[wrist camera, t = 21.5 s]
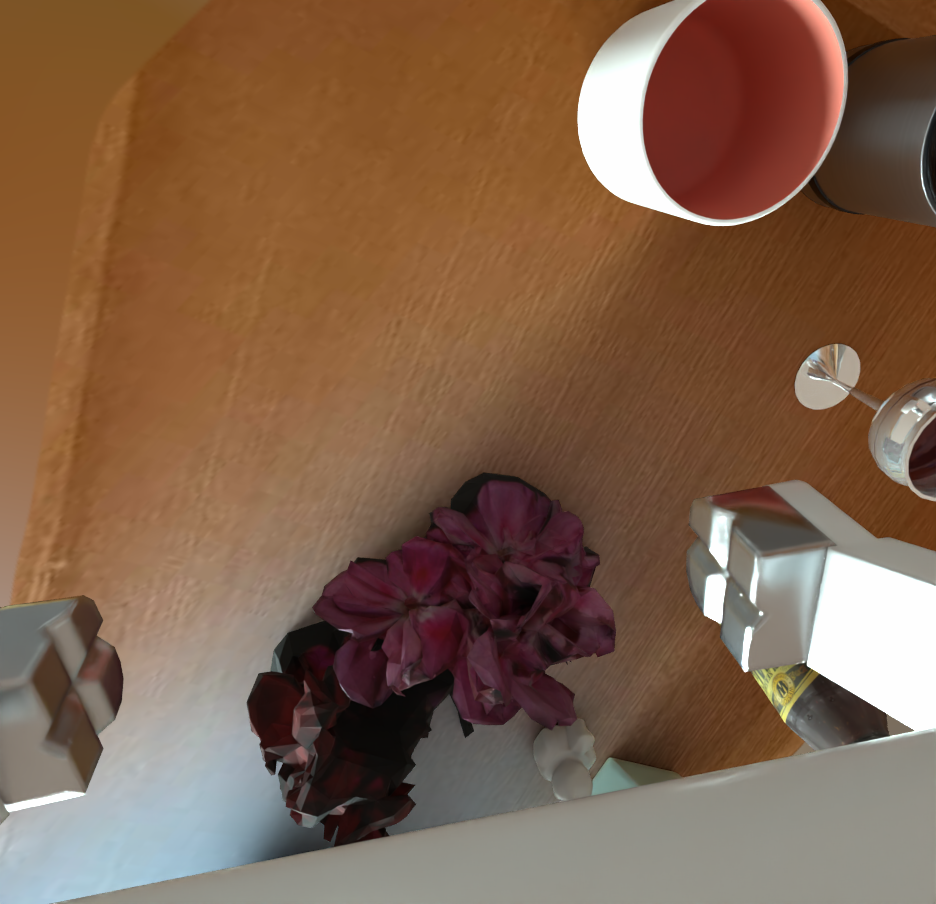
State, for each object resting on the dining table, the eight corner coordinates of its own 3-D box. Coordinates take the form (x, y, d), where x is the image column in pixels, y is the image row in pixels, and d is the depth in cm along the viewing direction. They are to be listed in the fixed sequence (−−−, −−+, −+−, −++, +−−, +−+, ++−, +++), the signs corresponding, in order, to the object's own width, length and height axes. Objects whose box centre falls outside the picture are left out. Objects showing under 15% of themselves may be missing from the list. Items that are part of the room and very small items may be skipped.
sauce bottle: (727, 557, 55) (905, 766, 37) (791, 568, 56) (992, 775, 39) (693, 621, 57) (846, 846, 39) (756, 630, 59) (929, 850, 41)
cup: (673, -38, 36) (778, -89, 27) (769, 114, 40) (886, 112, 31) (535, 108, 38) (590, 105, 29) (639, 238, 42) (715, 270, 33)
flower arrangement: (417, 783, 61) (435, 969, 47) (205, 713, 54) (156, 909, 40) (637, 520, 52) (735, 660, 38) (418, 395, 45) (445, 512, 31)
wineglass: (803, 325, 47) (936, 386, 36) (887, 336, 48) (1040, 398, 37) (769, 416, 49) (884, 498, 39) (849, 424, 51) (981, 505, 40)
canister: (803, 41, 39) (974, 11, 28) (948, 43, 40) (1164, 15, 29) (772, 211, 43) (911, 242, 32) (904, 208, 44) (1080, 236, 33)
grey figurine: (514, 748, 61) (536, 832, 53) (551, 696, 58) (579, 775, 51) (565, 761, 62) (592, 844, 55) (603, 710, 60) (636, 790, 53)
